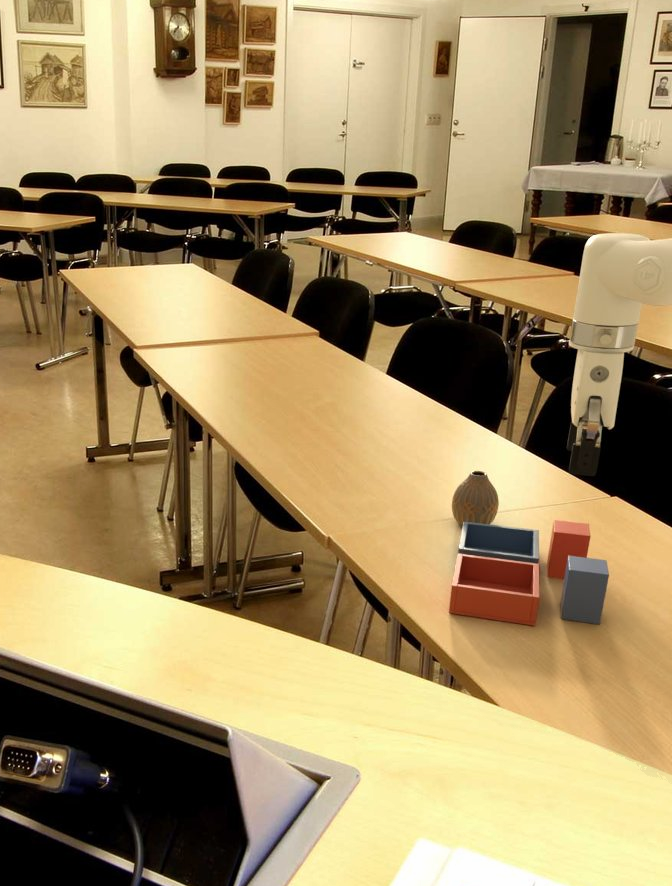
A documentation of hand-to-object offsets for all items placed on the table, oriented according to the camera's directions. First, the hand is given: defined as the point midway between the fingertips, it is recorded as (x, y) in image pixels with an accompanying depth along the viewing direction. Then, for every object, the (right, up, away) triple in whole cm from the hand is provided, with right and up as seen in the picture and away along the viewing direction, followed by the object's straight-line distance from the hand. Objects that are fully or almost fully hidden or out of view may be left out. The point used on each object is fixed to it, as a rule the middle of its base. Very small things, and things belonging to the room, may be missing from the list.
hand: (580, 462), depth 122 cm
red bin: (-12, -19, -1) cm, 22 cm away
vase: (-6, -9, +22) cm, 25 cm away
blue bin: (-8, -14, +9) cm, 19 cm away
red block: (0, -15, +6) cm, 16 cm away
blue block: (-3, -20, -5) cm, 21 cm away
